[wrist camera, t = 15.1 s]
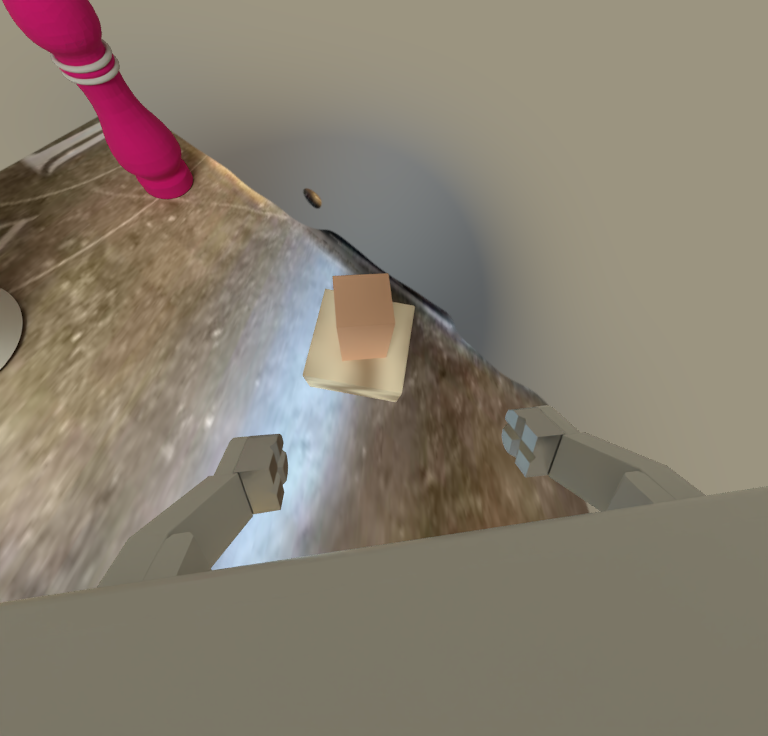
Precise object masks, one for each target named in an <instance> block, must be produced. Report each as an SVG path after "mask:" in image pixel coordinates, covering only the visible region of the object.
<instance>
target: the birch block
mask: <svg viewBox="0 0 768 736" xmlns="http://www.w3.org/2000/svg"><path fill="white" fill-rule="evenodd" d="M392 303H393V310H394V318H395V327H394V330H393V334H392V338H391V341H390V345H389V349H388V352H387V356H386V357H385V358H373V359H361V360H349V361H342V357H341V351H340V345H339V339H338V334H337V328H336V315H335V302H334V290H329V289H325V292H324V296H323V300H322V303H321V307H320V311H319V315H318V319H317V322H316V326H315V330H314V334H313V338H312V341H311V345H310V349H309V353H308V357H307V360H306V364H305V368H304V372H303V377H304V378H305V380H306V381H307V383H308V384H309V386H310V387H316V388H321V389H327V390H332V391H338V392H343V393H349V394H354V395H360V396H365V397H371V398H376V399H382V400H387V401H393V402H396V401H397V400H398V398H399V397H400V395H401V394H402V389H403V382H404V376H405V369H406V362H407V356H408V349H409V342H410V336H411V329H412V322H413V316H414V309H415V306H412V305H407V304H402V303H396V302H392Z"/></svg>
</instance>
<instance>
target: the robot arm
mask: <svg viewBox="0 0 768 736" xmlns="http://www.w3.org/2000/svg"><path fill="white" fill-rule="evenodd" d="M22 323H23V321H22V313H21V310H20V307H19V305H18V303H17V302H16V300H15V299H14V298H13V297H12V296H11V295H10V294H9V293H8V292H7V291H5V290H3V289H2V288H0V369H1V368H2V367H3V366H4V365H5V364H6V362H7V361H8V360H9V358H10V357H11V355H12V354H13V352H14V350H15V349H16V347H17V344H18V342H19V339H20V336H21V332H22ZM505 419H506V421H507V422H508V424H507V425H506V426H505V427H504V428H503V432H502V440H503V444H504V447H505V449H506V450H507V452H508V453H509V454H510V455H512V456H514V457H516V462H515V463H516V465H517V466H518V467H519V469H520V470H521V471H522V473H523V474H524V476H525V477H533V476H543V475H549V477H551V478H552V479H554V480H555V481H557V482H558V483H560V484H561V485H563V486H564V487H565V488H567V489H568V490H570V491H571V492H573V493H574V494H576V495H577V496H579V497H580V498H582V499H583V500H585V501H586V502H588V503H589V504H591V505H592V506H594V507H595V508H597V509H598V510H599V511H601V512H595V513H588V514H581V515H575V516H568V517H561V518H555V519H548V520H542V521H535V522H529V523H522V524H515V525H509V526H502V527H496V528H489V529H483V530H476V531H469V532H463V533H456V534H450V535H443V536H436V537H430V538H423V539H416V540H410V541H403V542H397V543H390V544H383V545H377V546H370V547H364V548H357V549H350V550H344V551H337V552H331V553H324V554H317V555H311V556H304V557H298V558H291V559H284V560H278V561H271V562H265V563H258V564H252V565H245V566H238V567H232V568H225V569H219V570H211V567H212V566H213V565H214V564H215V562H216V561H217V560H218V559H219V557H220V556H221V555H222V554H223V552H224V551H225V550H226V549H227V547H228V546H229V545H230V544H231V542H232V541H233V540H234V539H235V538H236V536H237V535H238V534H239V533H240V531H241V530H242V529H243V528H244V526H245V525H246V524H247V523H248V521H249V520H250V519H251V518H252V516H253V514H258V513H264V512H270V511H276V510H281V505H282V500H283V495H284V489H283V484H284V483H285V482H286V480H287V474H288V461H287V455H286V452H284V451H283V450H282V448H283V439H282V435H280V434H271V435H259V436H249V437H238V438H233V439H232V440H231V441H230V443H229V445H228V447H227V449H226V451H225V453H224V455H223V457H222V459H221V461H220V463H219V466H218V468H217V470H216V472H215V474H214V476H208V477H207V478H206V479H205V480H203V481H202V482H201V483H199V484H198V485H197V486H196V487H194V488H193V489H192V490H190V491H189V492H188V493H187V494H185V495H184V496H183V497H181V498H180V499H179V500H178V501H176V502H175V503H174V504H172V505H171V506H170V507H169V508H167V509H166V510H165V511H163V512H162V513H161V514H160V515H158V516H157V517H156V518H154V519H153V520H152V521H151V522H149V523H148V524H147V525H145V526H144V527H143V528H142V529H140V530H139V531H138V532H136V533H135V534H134V535H133V536H131V537H130V538H129V539H128V540H127V542H126V543H125V545H124V546H123V548H122V549H121V551H120V553H119V554H118V556H117V557H116V559H115V560H114V562H113V563H112V565H111V566H110V568H109V569H108V571H107V573H106V574H105V576H104V577H103V579H102V580H101V582H100V583H99V585H98V586H97V588H93V589H87V590H80V591H74V592H67V593H61V594H54V595H48V596H41V597H34V598H28V599H21V600H15V601H8V602H2V603H0V736H768V486H766V487H760V488H753V489H747V490H741V491H734V492H727V493H721V494H714V495H707V496H706V495H704V494H703V493H702V492H701V491H699V490H698V489H697V488H695V487H694V486H693V485H691V484H690V483H689V482H688V481H686V480H685V479H684V478H682V477H681V476H680V475H678V474H677V473H676V472H674V471H673V470H672V469H671V468H669V467H668V466H666V465H664V464H661V463H659V462H656V461H654V460H652V459H649V458H646V457H644V456H642V455H639V454H637V453H634V452H632V451H630V450H627V449H625V448H622V447H620V446H617V445H615V444H612V443H610V442H607V441H605V440H603V439H600V438H598V437H595V436H592V435H590V434H588V433H586V432H583V433H581V432H579V430H577V429H576V428H575V427H574V426H573V425H572V424H570V422H568V421H567V420H566V419H565V418H564V417H563V416H562V415H561V414H560V413H558V412H557V411H556V410H555V409H554V408H553V407H551V406H549V405H545V406H537V407H532V408H523V409H513V410H509V411H508V412H507V414H506V418H505Z"/></svg>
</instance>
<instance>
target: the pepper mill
mask: <svg viewBox="0 0 768 736" xmlns="http://www.w3.org/2000/svg"><path fill="white" fill-rule="evenodd" d="M2 1H3V3H4V5H5V7H6V9H7V11H8V12H9V14H10V16H11V17H12V19H13V20H14V22H15V23H16V25H17V26H18V27H19V28H20V29H21V30H22V31H23V32H24V33H25V35H26V36H27V37H28V38H29V39H31V40H32V41H33V42H34V43H36V44H37V45H38V46H40V47H42V48H43V49H45V50H47V51H49V52H50V56H51V59H52V61H53V62H54V64H55V65H56V66H58V67H59V68H60V69H61V72H62V74H63V75H64V77H65V78H67V79H68V80H69V81H71V82H74V83H76V84H77V85H78V86H79V88H80V89H81V90H82V91H83V92H84V94H85V95H86V97H87V98H88V100H89V101H90V103H91V104H92V106H93V108H94V110H95V111H96V113H97V115H98V118H99V121H100V124H101V127H102V130H103V133H104V136H105V139H106V142H107V144H108V146H109V148H110V150H111V152H112V154H113V155H114V157H115V158H116V160H117V161H118V162H119V164H120V165H121V166H122V167H123V168H124V169H125V170H127V171H128V172H130V173H131V174H134V175H136V178H137V179H138V181H139V182H140V184H141V185H142V186H143V187H144V189H145V190H146V191H147V192H148V193H149V194H150V195H152V196H154V197H156V198H160V199H172V198H177V197H179V196H182V195H183V194H185V193H186V192H187V191H188V190H189V189H190V188H191V186H192V183H193V176H192V174H191V172H190V170H189V168H188V167H187V165H186V163H185V162H184V160H182V159H181V149H180V146H179V143H178V142H177V140H176V139H175V137H174V136H173V134H172V133H171V131H170V130H169V129H168V128H167V127H166V126H165V125H164V124H163V123H162V122H161V121H160V120H159V119H158V118H157V117H156V116H154V115H153V114H152V113H151V112H150V111H148V110H147V109H146V108H145V107H144V106H143V105H142V104H141V103H140V102H139V101H138V99H136V97H135V96H134V94H133V93H132V92H131V90H130V89H129V87H128V86H127V84H126V83H125V81H124V79H123V78H122V76H121V74H120V72H119V67H120V66H119V61H118V59H117V58H116V57H115V56H114V55H113V54H112V50H111V48H110V46H109V45H108V44H107V43H106V42H105V41H104V40H102V39H101V35H102V32H101V25H100V21H99V19H98V16H97V15H96V13H95V11H94V9H93V7H92V5H91V4H90V2H89V1H88V0H2Z"/></svg>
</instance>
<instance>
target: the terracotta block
mask: <svg viewBox="0 0 768 736" xmlns="http://www.w3.org/2000/svg"><path fill="white" fill-rule="evenodd" d="M333 288H334V302H335V315H336V328H337V334H338V339H339V345H340V351H341V357H342V361H349V360H361V359H373V358H385V357H386V356H387V352H388V349H389V345H390V341H391V338H392V334H393V330H394V327H395V318H394V310H393V303H392V296H391V289H390V282H389V274H388V273H384V274H364V275H345V276H333Z"/></svg>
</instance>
